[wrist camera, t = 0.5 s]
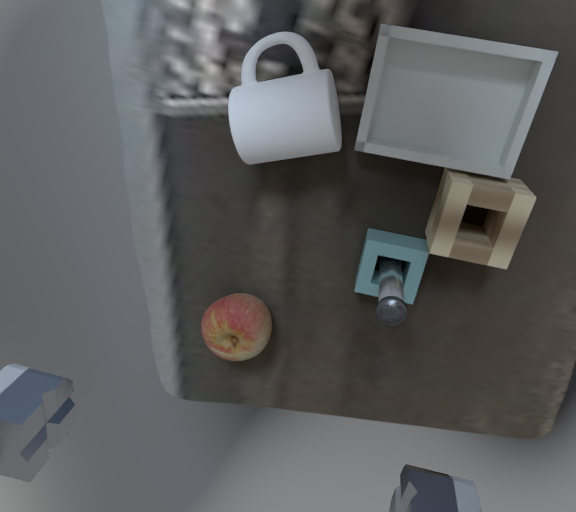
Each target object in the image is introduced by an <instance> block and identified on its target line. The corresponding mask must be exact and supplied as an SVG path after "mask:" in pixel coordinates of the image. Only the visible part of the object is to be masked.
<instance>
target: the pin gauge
mask: <svg viewBox="0 0 576 512" xmlns="http://www.w3.org/2000/svg"><path fill="white" fill-rule="evenodd" d="M376 315H377V318H378V319H379V320H380V321H381V322H382V323H384V324H386V325H390V326H394V325H398V324H400V323H402V322H403V321H404V320H405V319H406V317H407V306H406V304H405V302H404V292H403V279H402V265H401V260H399V259H394V258H390V257H385V256H380V258H379V300H378V303H377V306H376Z"/></svg>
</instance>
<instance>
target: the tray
mask: <svg viewBox="0 0 576 512" xmlns="http://www.w3.org/2000/svg"><path fill="white" fill-rule="evenodd" d="M557 55H558V52H557V51H551V50H544V49H538V48H532V47H526V46H519V45H513V44H507V43H501V42H494V41H488V40H482V39H475V38H469V37H463V36H457V35H450V34H444V33H438V32H432V31H425V30H419V29H413V28H407V27H400V26H394V25H388V24H381V26H380V30H379V35H378V40H377V45H376V49H375V54H374V59H373V64H372V68H371V73H370V78H369V83H368V87H367V92H366V97H365V101H364V106H363V111H362V116H361V120H360V125H359V130H358V135H357V139H356V144H355V149H354V150H356V151H361V152H366V153H372V154H377V155H382V156H388V157H393V158H398V159H403V160H409V161H414V162H419V163H425V164H430V165H435V166H441V167H446V168H451V169H457V170H462V171H467V172H473V173H478V174H483V175H489V176H494V177H499V178H504V179H510V178H511V175H512V173H513V170H514V167H515V165H516V162H517V159H518V157H519V154H520V152H521V149H522V146H523V144H524V141H525V139H526V136H527V133H528V131H529V128H530V125H531V123H532V120H533V118H534V115H535V112H536V110H537V107H538V104H539V102H540V99H541V97H542V94H543V91H544V89H545V86H546V84H547V81H548V78H549V76H550V73H551V70H552V68H553V65H554V63H555V60H556V57H557Z"/></svg>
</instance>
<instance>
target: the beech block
mask: <svg viewBox="0 0 576 512" xmlns="http://www.w3.org/2000/svg"><path fill="white" fill-rule="evenodd" d="M536 198H537V197H536V196H535V195H534V194H533V193H532V192H531V191H530V189H529V188H528V187H527V186H526V185H525V184H524V183H523V182H522V181H521V179H516V178H510V179H504V178H499V177H494V176H489V175H483V174H478V173H473V172H467V171H462V170H457V169H451V168H446V167H445V168H444V171H443V175H442V178H441V181H440V184H439V188H438V191H437V194H436V197H435V200H434V204H433V207H432V210H431V213H430V217H429V220H428V223H427V226H426V230H425V234H426V239H427V244H428V249H429V253H430V254H434V255H439V256H444V257H449V258H454V259H459V260H463V261H468V262H473V263H478V264H483V265H487V266H492V267H497V268H502V269H507V268H508V265H509V263H510V260H511V258H512V256H513V253H514V251H515V248H516V246H517V244H518V241H519V239H520V236H521V234H522V232H523V229H524V227H525V225H526V222H527V220H528V217H529V215H530V213H531V210H532V208H533V205H534V203H535V201H536ZM466 205H472V206H477V207H482V208H487V209H489V211H488V213H487V216H486V219H485V221H484V224H483V226H479V225H474V224H469V223H464V222H461V220H462V217H463V214H464V211H465V208H466Z"/></svg>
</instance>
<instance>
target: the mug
mask: <svg viewBox="0 0 576 512" xmlns="http://www.w3.org/2000/svg"><path fill="white" fill-rule="evenodd" d="M277 44H287V45H290V46H291V47H292V48H293V49H294V50H295V51H296V53H297V54H298V56H299V58H300V61H301V64H302V67H303V73H302V74H298V75H293V76H288V77H282V78H277V79H272V80H267V81H262V82H257V81H256V63H257V60H258V57H259V56H260V54H261V53H262V52H263V51H264V50H266V49H267V48H269V47H271V46H274V45H277ZM241 82H242V84H241V86H237V87H234V88H233V89H232V90H231V92H230V95H229V102H228V114H229V123H230V129H231V134H232V138H233V141H234V144H235V147H236V149H237V152H238V154H239V156H240V157H241V159H242V160H243V161H244V162H245V163H246V164H249V165H251V164H258V163H264V162H271V161H278V160H284V159H291V158H298V157H304V156H311V155H317V154H324V153H331V152H337V151H339V150H340V149H341V144H342V132H341V119H340V110H339V103H338V97H337V91H336V86H335V82H334V78H333V75H332V72H331V71H330V70H329V69H323V70H320V69H319V67H318V63H317V59H316V56H315V54H314V51H313V49H312V47H311V46H310V44H309V43H308V42H307V41H306V40H305V39H304V38H303V37H302V36H300V35H298V34H296V33H292V32H278V33H274V34H271V35H268V36H266V37H264V38H263V39H261V40H259V41H258V42H257V43H256V44H254V45H253V46H252V47H251V49H250V50H249V51H248V53H247V54H246V56H245V58H244V61H243V64H242V70H241Z"/></svg>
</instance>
